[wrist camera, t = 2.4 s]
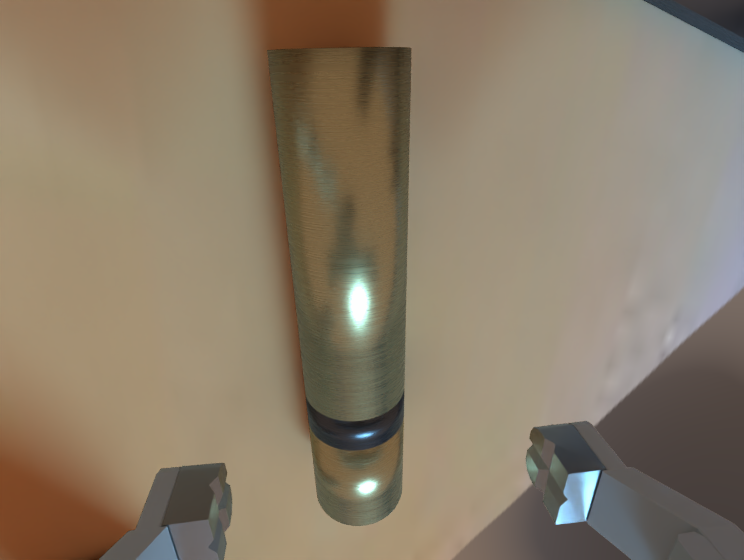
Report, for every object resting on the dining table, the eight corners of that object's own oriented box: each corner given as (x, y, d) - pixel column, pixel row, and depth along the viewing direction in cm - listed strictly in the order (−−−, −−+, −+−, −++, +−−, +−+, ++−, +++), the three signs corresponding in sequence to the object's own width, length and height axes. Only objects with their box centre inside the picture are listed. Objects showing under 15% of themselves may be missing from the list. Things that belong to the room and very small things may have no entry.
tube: (270, 51, 14) (261, 49, 10) (395, 49, 14) (428, 46, 11) (314, 456, 22) (318, 532, 18) (393, 445, 22) (411, 518, 19)
